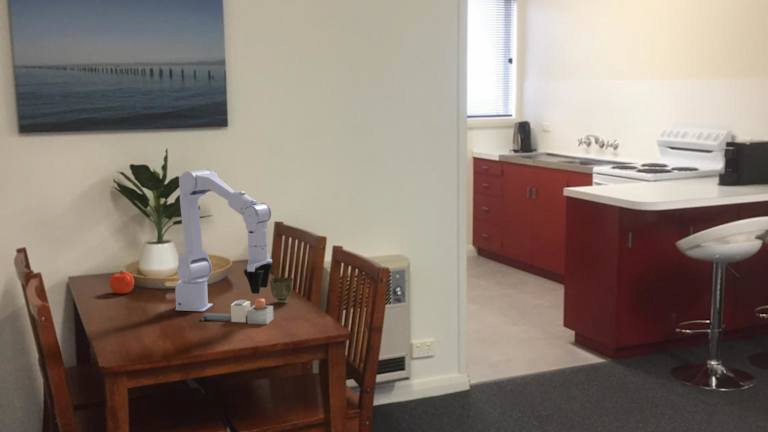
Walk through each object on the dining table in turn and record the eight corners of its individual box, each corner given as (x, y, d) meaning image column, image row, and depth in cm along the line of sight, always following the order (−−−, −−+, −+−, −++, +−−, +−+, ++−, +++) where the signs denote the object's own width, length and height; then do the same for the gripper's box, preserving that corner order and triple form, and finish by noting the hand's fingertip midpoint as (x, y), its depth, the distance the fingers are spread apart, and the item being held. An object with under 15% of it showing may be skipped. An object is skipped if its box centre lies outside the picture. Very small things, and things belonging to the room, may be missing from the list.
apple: (139, 292, 275) (138, 269, 274) (120, 297, 268) (119, 273, 267) (124, 289, 279) (122, 266, 278) (105, 294, 272) (103, 271, 271)
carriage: (231, 321, 238) (230, 303, 237) (236, 317, 242) (236, 299, 241) (245, 322, 237) (244, 304, 236) (250, 318, 242) (250, 300, 241)
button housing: (247, 323, 236) (246, 310, 236) (253, 317, 242) (253, 305, 241) (267, 324, 235) (266, 311, 235) (273, 318, 241) (273, 305, 240)
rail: (201, 320, 239) (200, 315, 239) (206, 316, 244) (206, 311, 244) (247, 322, 237) (247, 317, 237) (252, 318, 241) (252, 313, 241)
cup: (289, 306, 255) (288, 281, 253) (267, 305, 256) (266, 281, 255) (296, 300, 262) (295, 276, 261) (275, 299, 263) (274, 275, 262)
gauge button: (253, 308, 237) (253, 300, 236) (256, 305, 240) (256, 298, 239) (263, 308, 236) (263, 301, 236) (266, 305, 239) (266, 298, 239)
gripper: (263, 250, 227) (264, 296, 229) (278, 240, 241) (279, 284, 244) (239, 249, 229) (241, 295, 231) (256, 240, 243) (257, 284, 245)
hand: (259, 290), depth 237 cm, fingers open, 7 cm apart
